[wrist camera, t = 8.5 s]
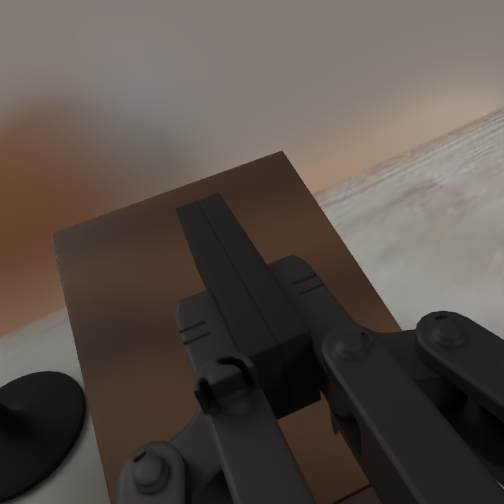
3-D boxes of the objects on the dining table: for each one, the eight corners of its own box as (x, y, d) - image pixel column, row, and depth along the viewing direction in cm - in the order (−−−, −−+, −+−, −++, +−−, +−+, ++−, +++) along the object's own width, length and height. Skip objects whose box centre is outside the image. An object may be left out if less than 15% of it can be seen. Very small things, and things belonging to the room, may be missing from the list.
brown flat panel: (56, 241, 24) (49, 233, 24) (282, 159, 27) (282, 149, 26) (139, 603, 16) (133, 607, 15) (463, 435, 18) (470, 431, 17)
